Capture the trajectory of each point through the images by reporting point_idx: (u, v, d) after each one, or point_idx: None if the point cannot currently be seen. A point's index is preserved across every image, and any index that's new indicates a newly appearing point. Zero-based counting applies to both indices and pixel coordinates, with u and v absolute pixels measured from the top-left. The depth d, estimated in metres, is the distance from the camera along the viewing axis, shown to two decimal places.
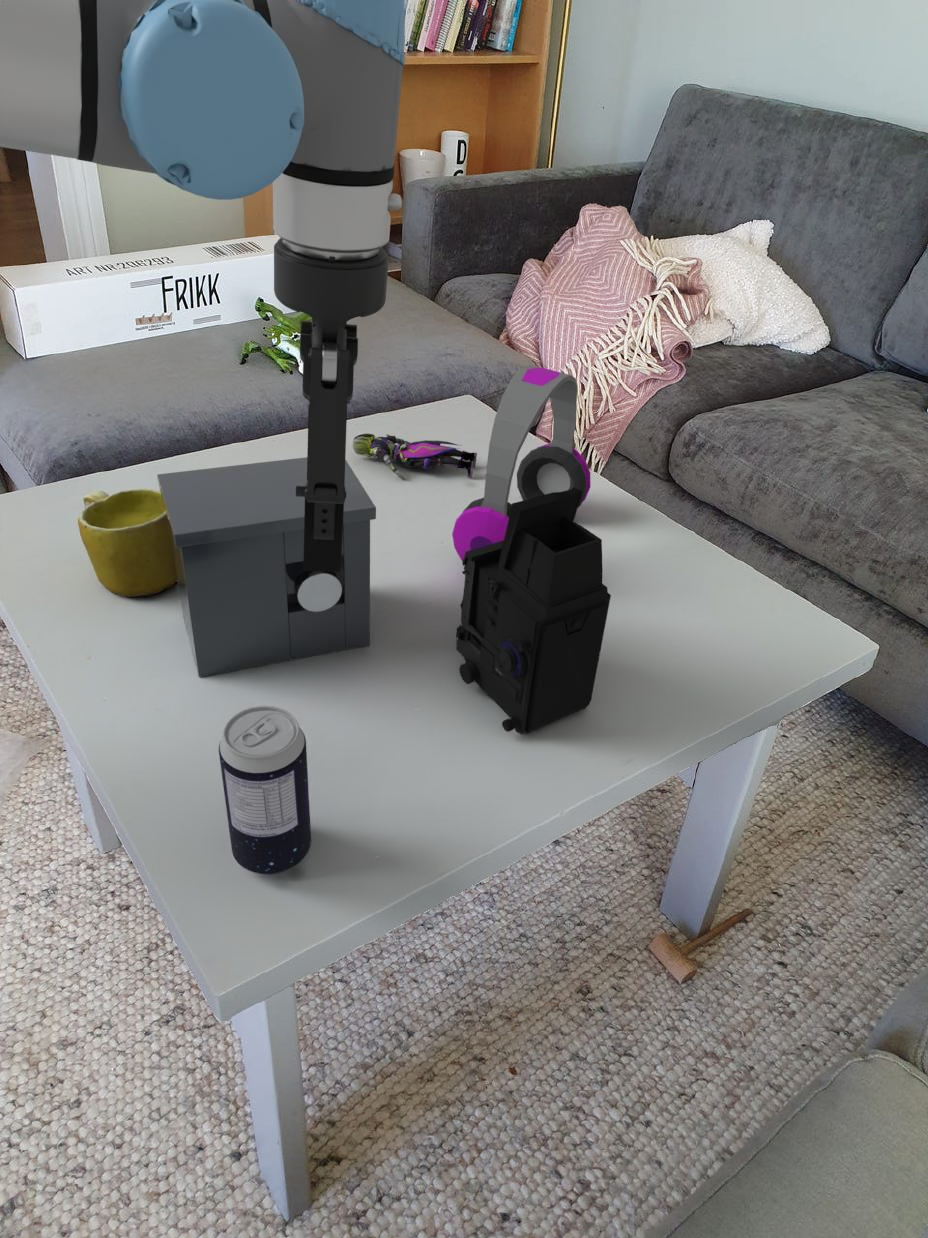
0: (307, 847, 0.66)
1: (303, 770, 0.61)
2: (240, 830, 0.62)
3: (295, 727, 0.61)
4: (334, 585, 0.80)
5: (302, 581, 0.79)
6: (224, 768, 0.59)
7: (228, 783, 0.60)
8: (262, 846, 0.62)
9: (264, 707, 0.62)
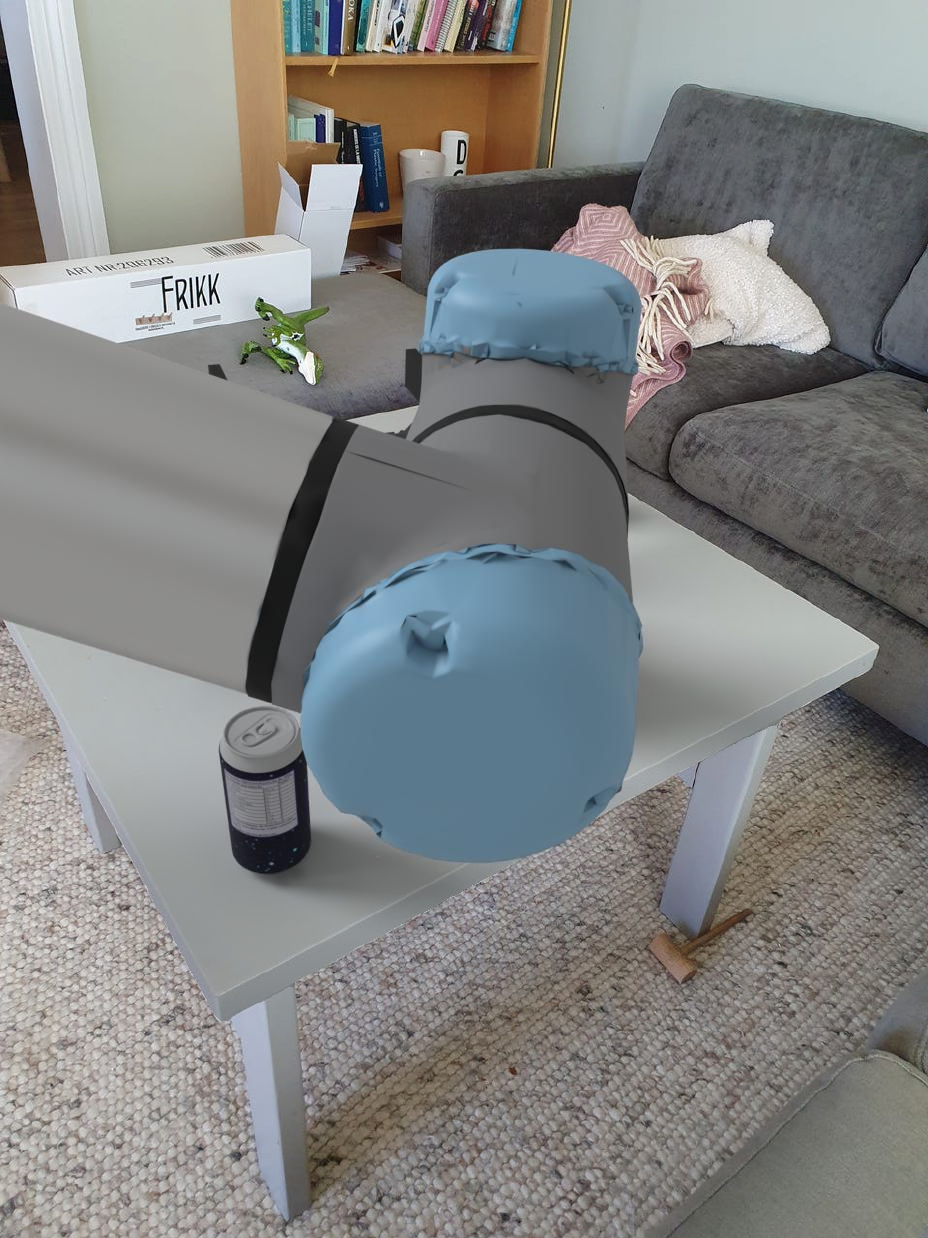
0: (307, 847, 0.66)
1: (303, 770, 0.61)
2: (240, 830, 0.62)
3: (295, 727, 0.61)
4: None
5: None
6: (224, 767, 0.59)
7: (228, 783, 0.60)
8: (262, 845, 0.62)
9: (264, 707, 0.62)
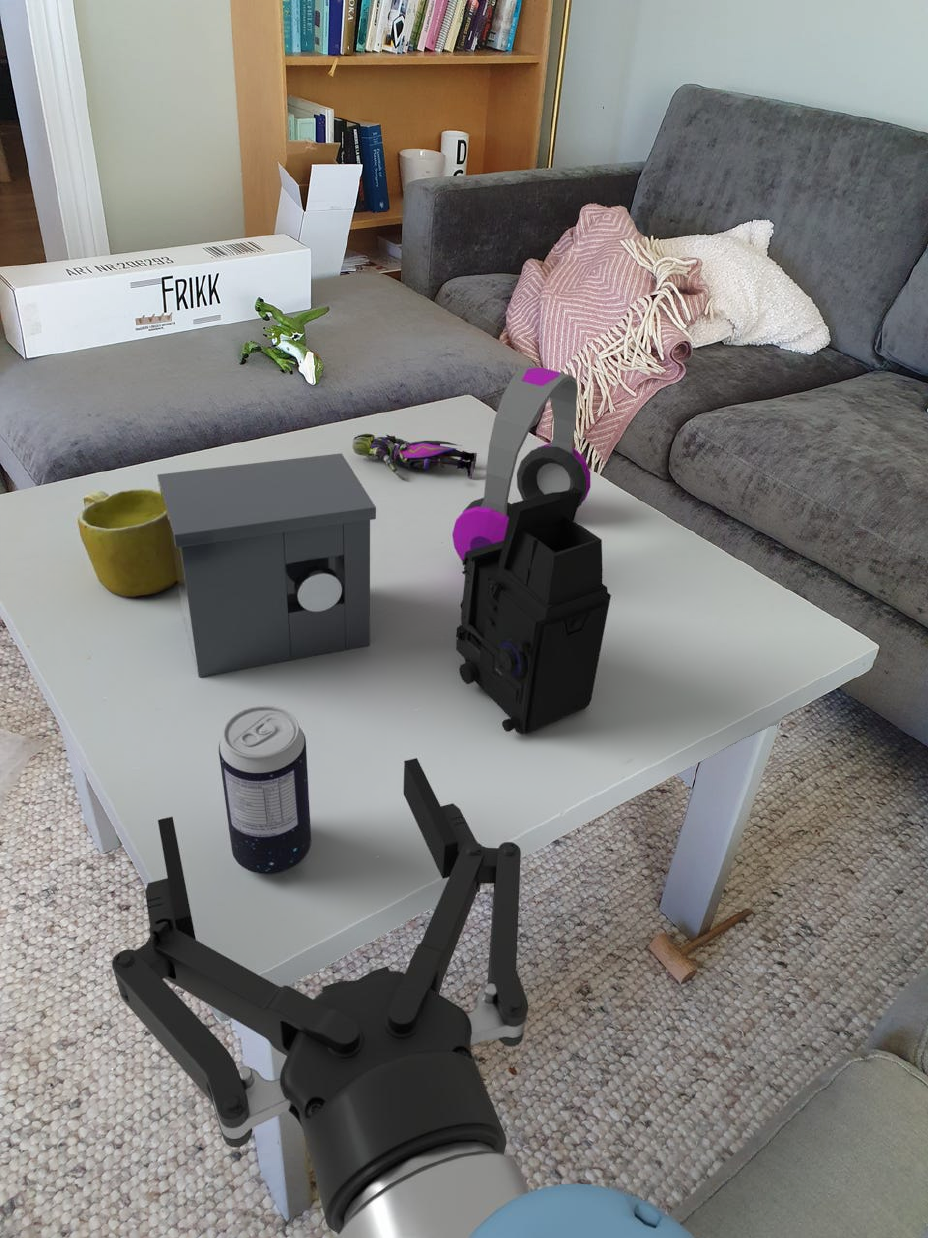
0: (307, 847, 0.66)
1: (303, 770, 0.61)
2: (240, 830, 0.62)
3: (295, 727, 0.61)
4: (334, 585, 0.80)
5: (302, 581, 0.79)
6: (224, 768, 0.59)
7: (228, 783, 0.60)
8: (262, 846, 0.62)
9: (264, 707, 0.62)
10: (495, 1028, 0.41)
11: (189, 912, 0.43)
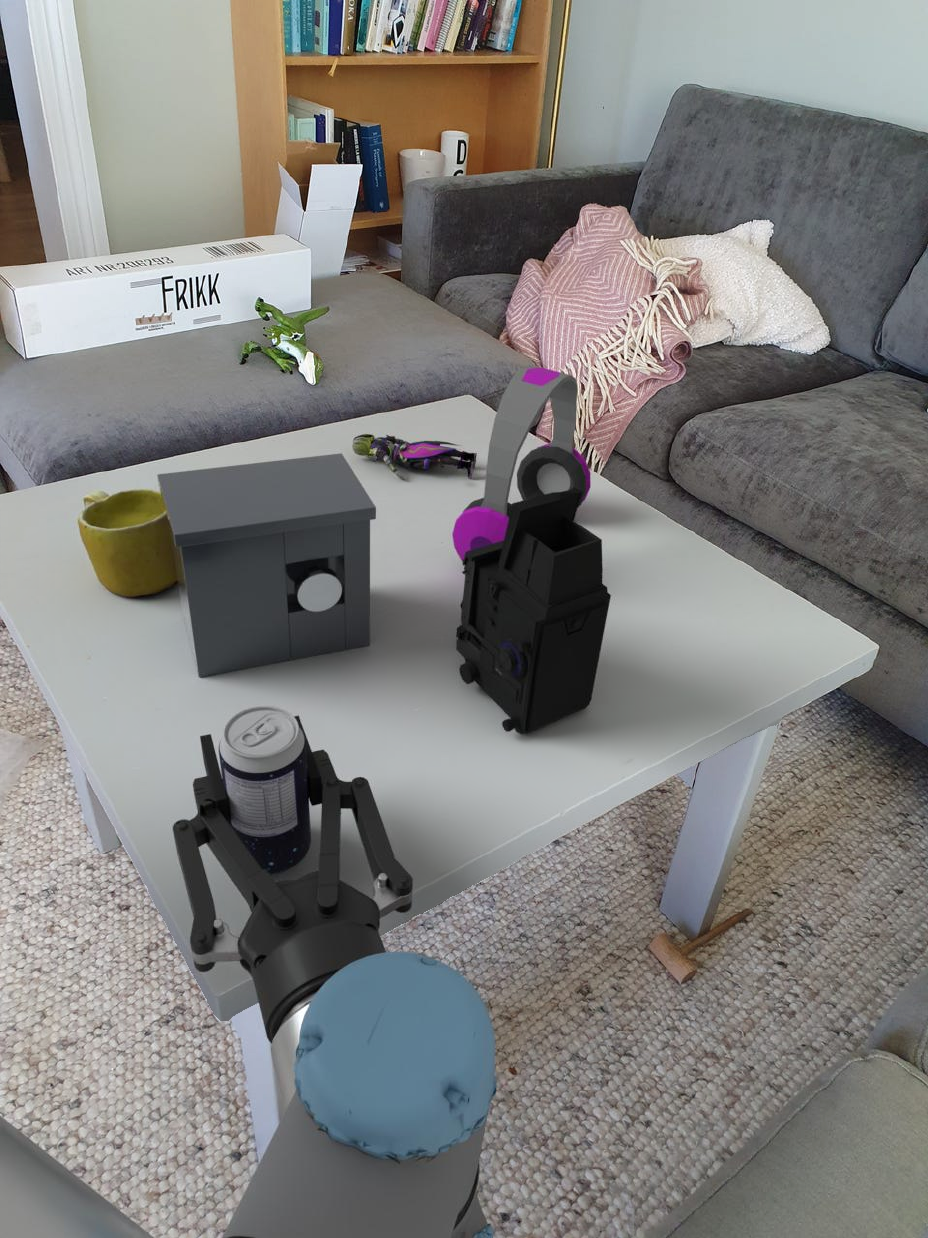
0: (307, 847, 0.66)
1: (303, 770, 0.61)
2: (240, 830, 0.62)
3: (295, 727, 0.61)
4: (334, 585, 0.80)
5: (302, 581, 0.79)
6: (224, 767, 0.59)
7: (228, 783, 0.60)
8: (262, 845, 0.62)
9: (264, 707, 0.62)
10: (394, 901, 0.56)
11: (225, 796, 0.61)
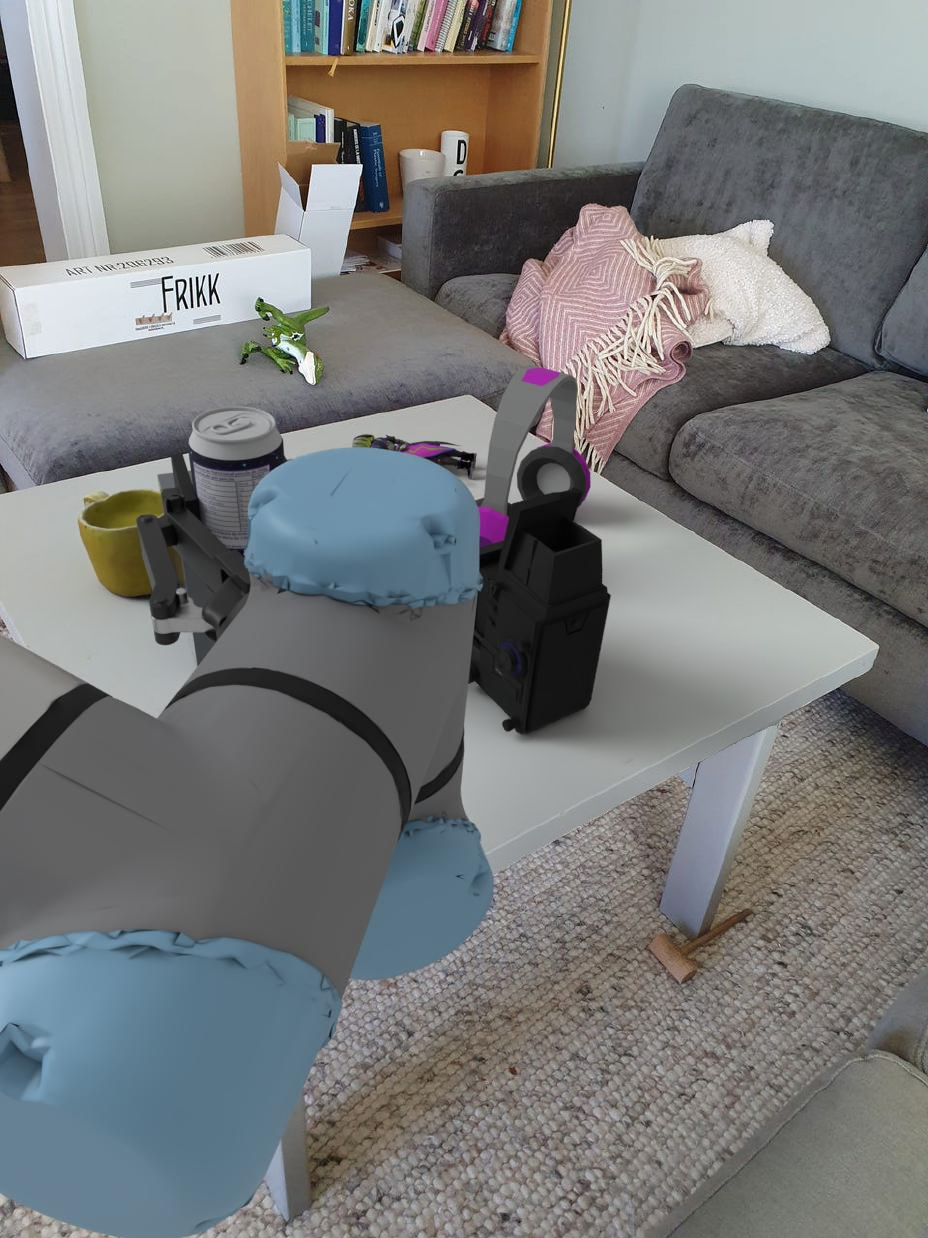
0: None
1: None
2: None
3: (271, 423, 0.56)
4: None
5: None
6: (193, 460, 0.54)
7: (198, 480, 0.55)
8: None
9: (239, 407, 0.57)
10: None
11: (195, 497, 0.56)
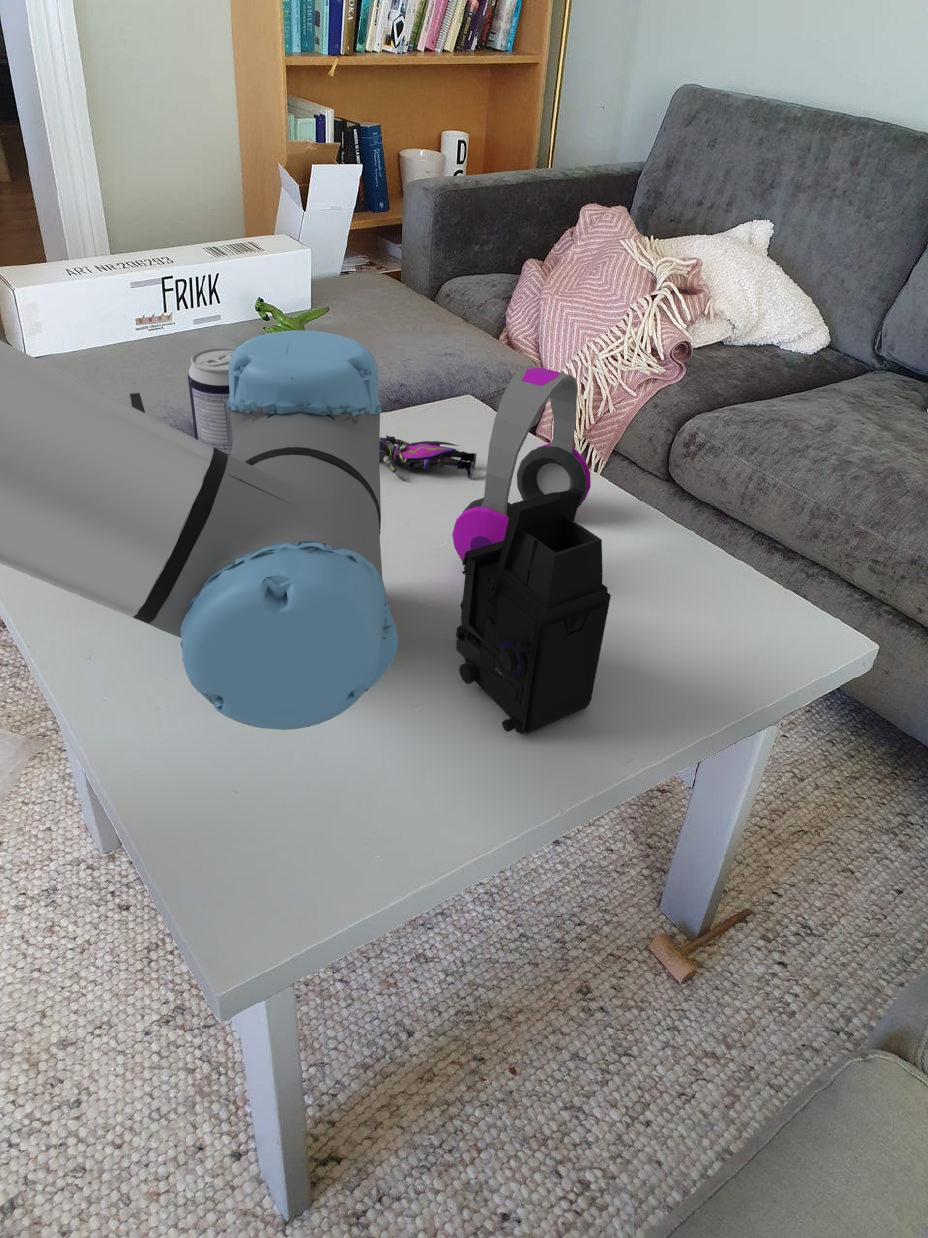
0: None
1: None
2: None
3: None
4: None
5: None
6: (192, 386, 0.71)
7: (195, 402, 0.72)
8: None
9: (227, 348, 0.74)
10: None
11: None
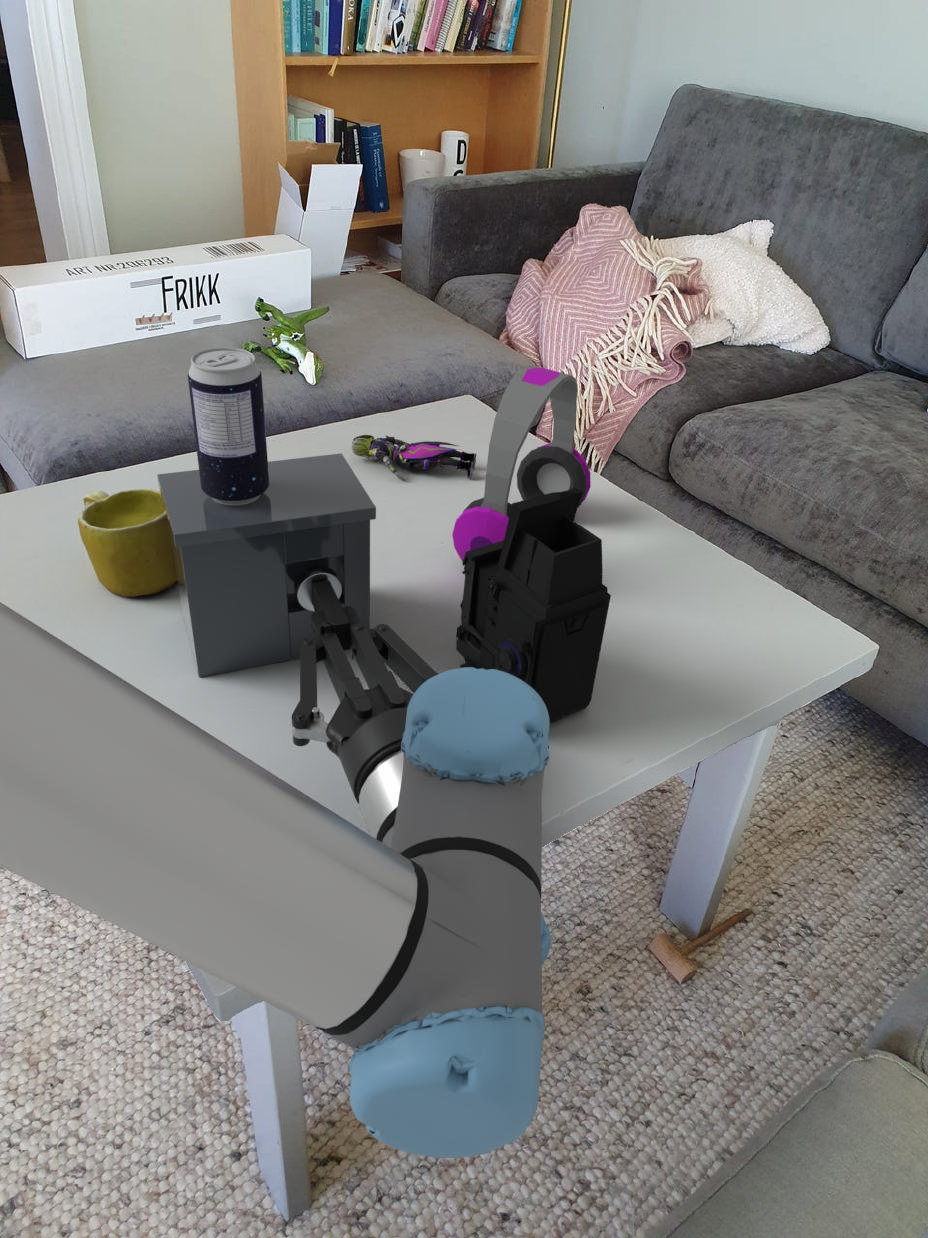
0: (265, 484, 0.77)
1: (259, 397, 0.73)
2: (206, 453, 0.74)
3: (252, 359, 0.72)
4: (334, 585, 0.80)
5: (302, 580, 0.79)
6: (192, 386, 0.71)
7: (196, 402, 0.72)
8: (225, 467, 0.74)
9: (227, 348, 0.74)
10: None
11: (340, 622, 0.74)
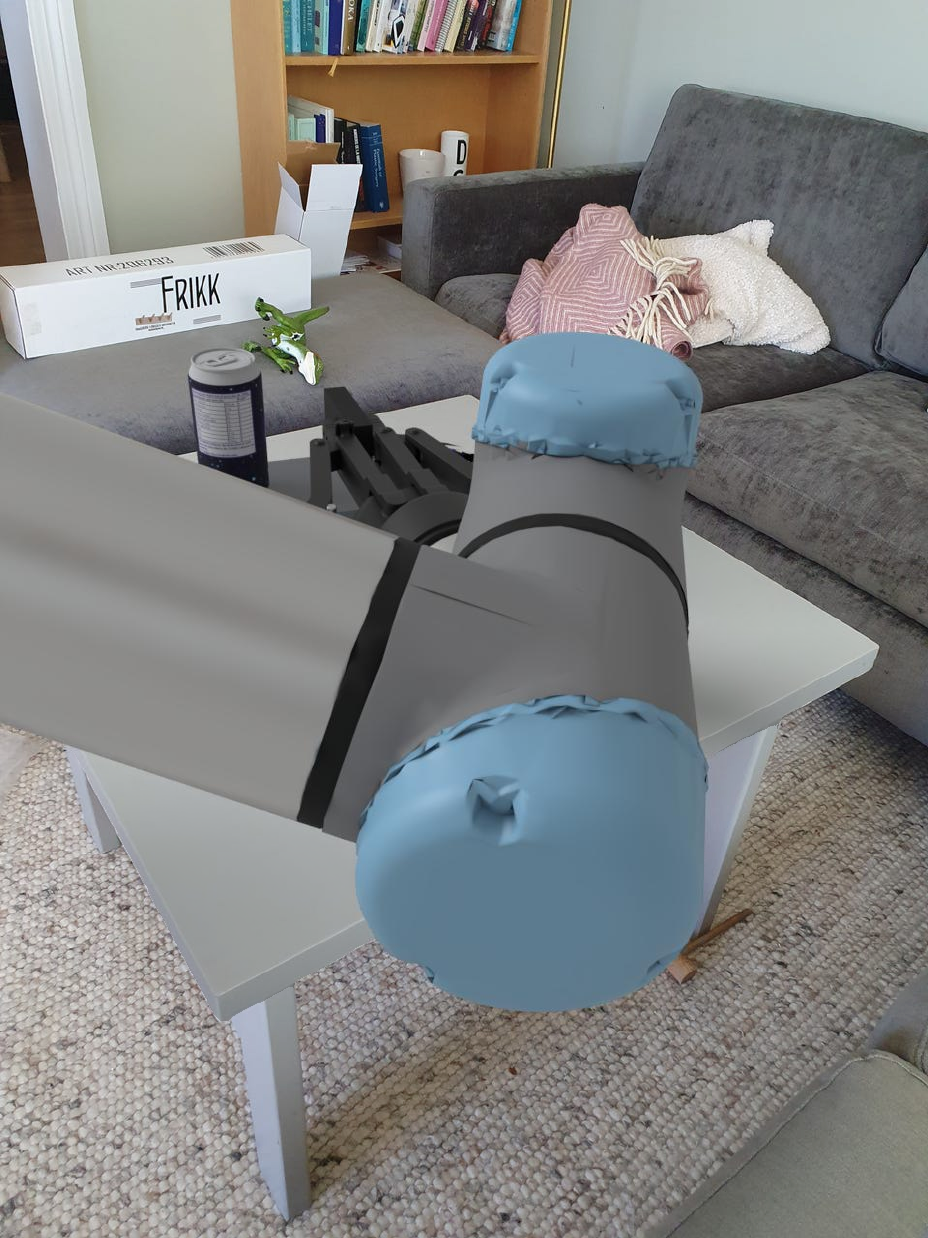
0: (265, 484, 0.77)
1: (259, 397, 0.73)
2: (206, 453, 0.74)
3: (252, 359, 0.72)
4: None
5: None
6: (192, 386, 0.71)
7: (195, 402, 0.72)
8: (225, 467, 0.74)
9: (227, 348, 0.74)
10: None
11: (360, 424, 0.58)
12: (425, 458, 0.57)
